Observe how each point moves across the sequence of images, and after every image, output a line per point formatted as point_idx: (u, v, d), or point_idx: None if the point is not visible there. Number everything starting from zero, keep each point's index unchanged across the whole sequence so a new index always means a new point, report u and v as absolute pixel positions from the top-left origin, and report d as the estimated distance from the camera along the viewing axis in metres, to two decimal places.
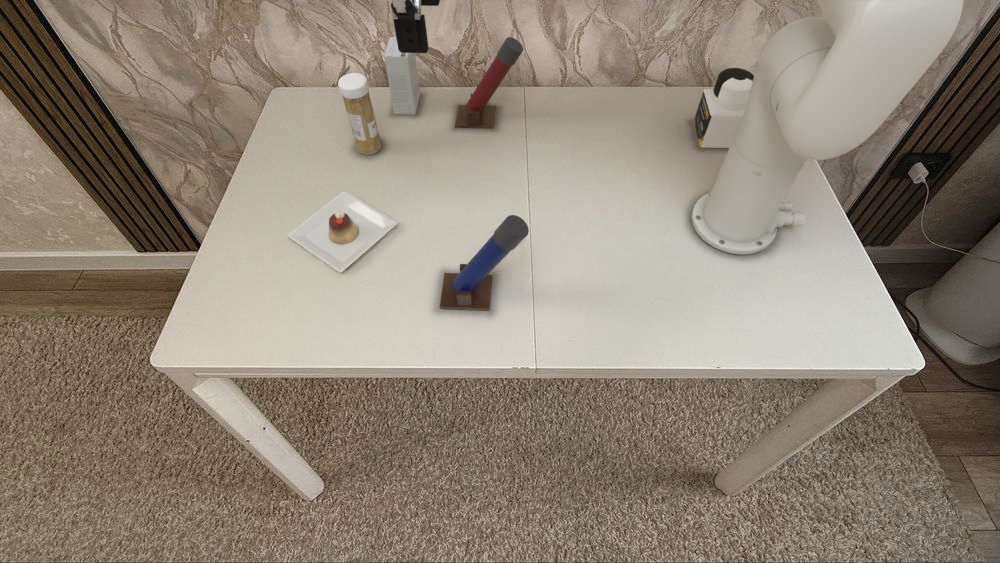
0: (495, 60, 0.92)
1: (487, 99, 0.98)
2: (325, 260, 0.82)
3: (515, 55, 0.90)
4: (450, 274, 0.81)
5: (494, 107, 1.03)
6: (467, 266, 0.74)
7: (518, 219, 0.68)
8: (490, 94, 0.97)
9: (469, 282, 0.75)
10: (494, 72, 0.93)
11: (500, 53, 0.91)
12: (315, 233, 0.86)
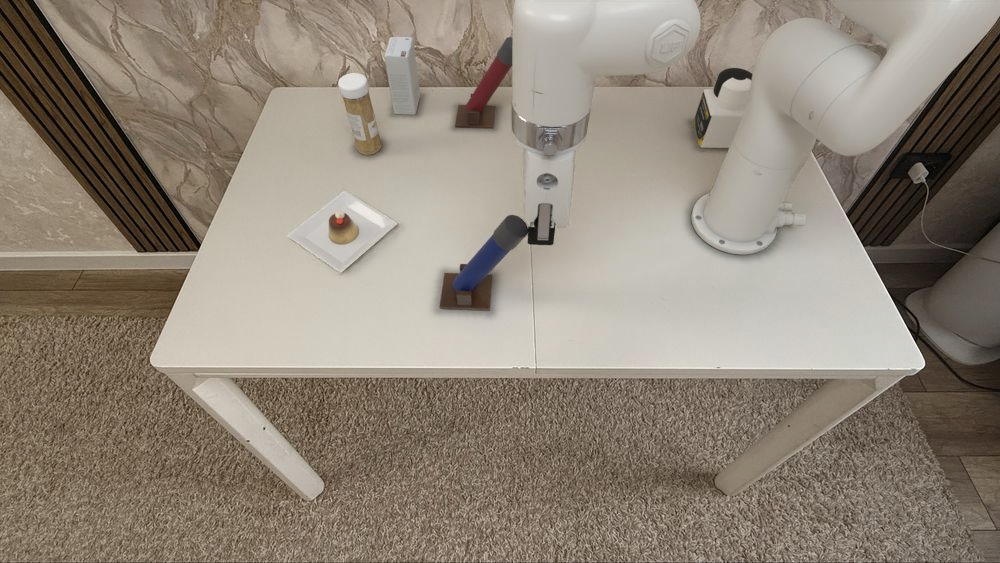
0: (495, 60, 0.92)
1: (487, 99, 0.98)
2: (325, 260, 0.82)
3: None
4: (450, 274, 0.81)
5: (494, 107, 1.03)
6: (467, 266, 0.74)
7: (518, 219, 0.68)
8: (490, 94, 0.97)
9: (469, 282, 0.75)
10: (494, 72, 0.93)
11: (500, 53, 0.91)
12: (315, 233, 0.86)
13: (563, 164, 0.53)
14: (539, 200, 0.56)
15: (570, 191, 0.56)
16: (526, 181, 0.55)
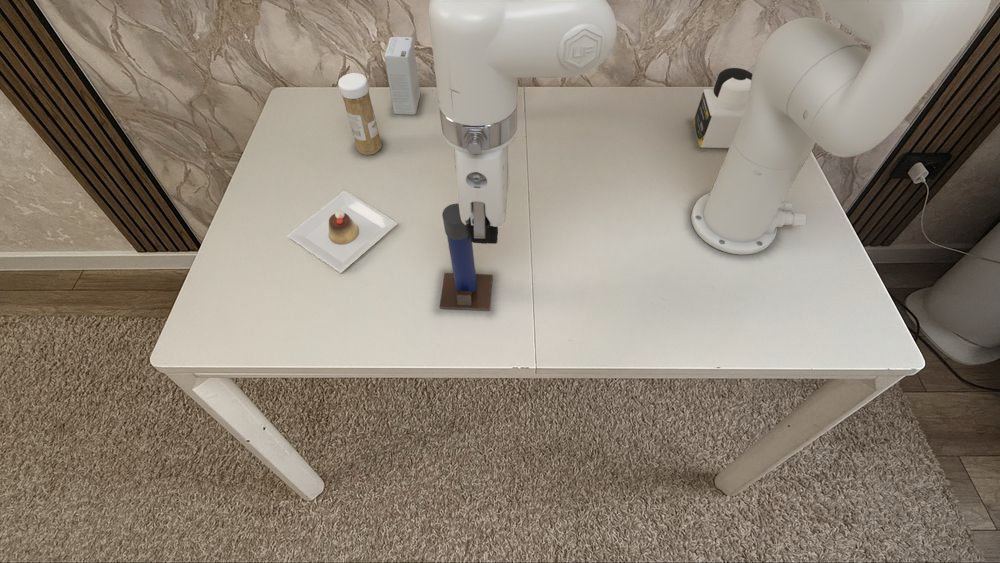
0: None
1: None
2: (325, 260, 0.82)
3: None
4: (450, 274, 0.81)
5: None
6: (452, 267, 0.75)
7: (458, 206, 0.67)
8: None
9: (460, 282, 0.75)
10: None
11: None
12: (315, 233, 0.86)
13: (490, 163, 0.53)
14: (471, 199, 0.57)
15: (501, 190, 0.56)
16: (457, 180, 0.56)
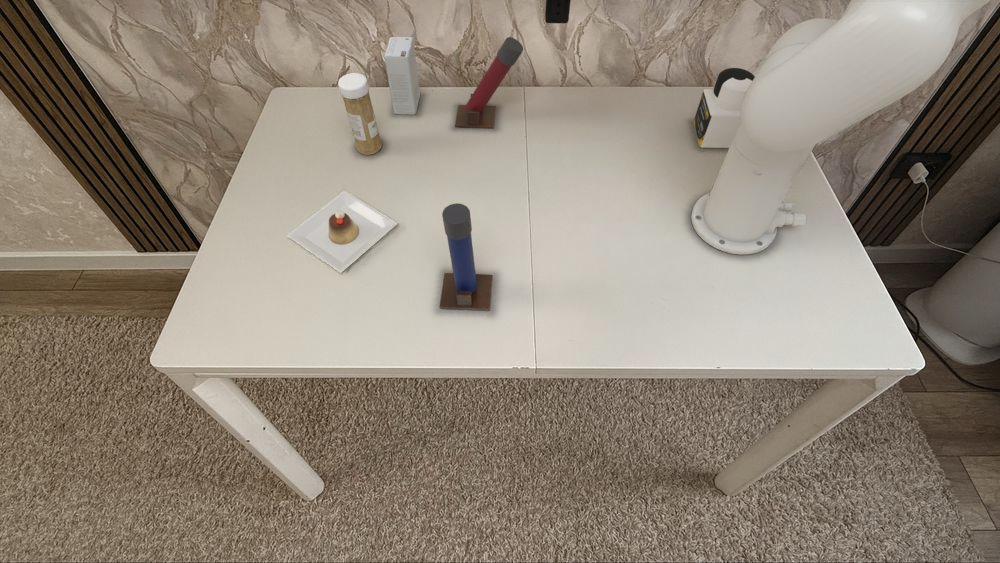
0: (495, 60, 0.92)
1: (487, 99, 0.98)
2: (325, 260, 0.82)
3: (515, 55, 0.90)
4: (450, 274, 0.81)
5: (494, 107, 1.03)
6: (452, 267, 0.75)
7: (458, 206, 0.67)
8: (490, 94, 0.97)
9: (460, 282, 0.75)
10: (494, 72, 0.93)
11: (500, 53, 0.91)
12: (315, 233, 0.86)
13: None
14: None
15: None
16: None
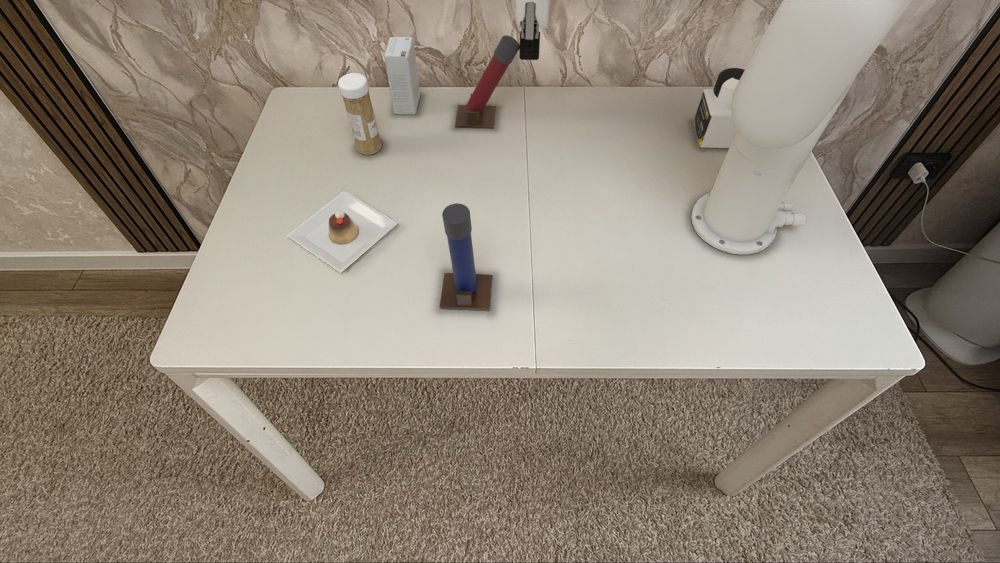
0: (492, 59, 0.92)
1: (486, 98, 0.97)
2: (325, 260, 0.82)
3: (511, 53, 0.90)
4: (450, 274, 0.81)
5: (494, 107, 1.03)
6: (452, 267, 0.75)
7: (458, 206, 0.67)
8: (489, 93, 0.96)
9: (460, 282, 0.75)
10: (491, 72, 0.93)
11: (497, 52, 0.90)
12: (315, 233, 0.86)
13: None
14: None
15: None
16: None
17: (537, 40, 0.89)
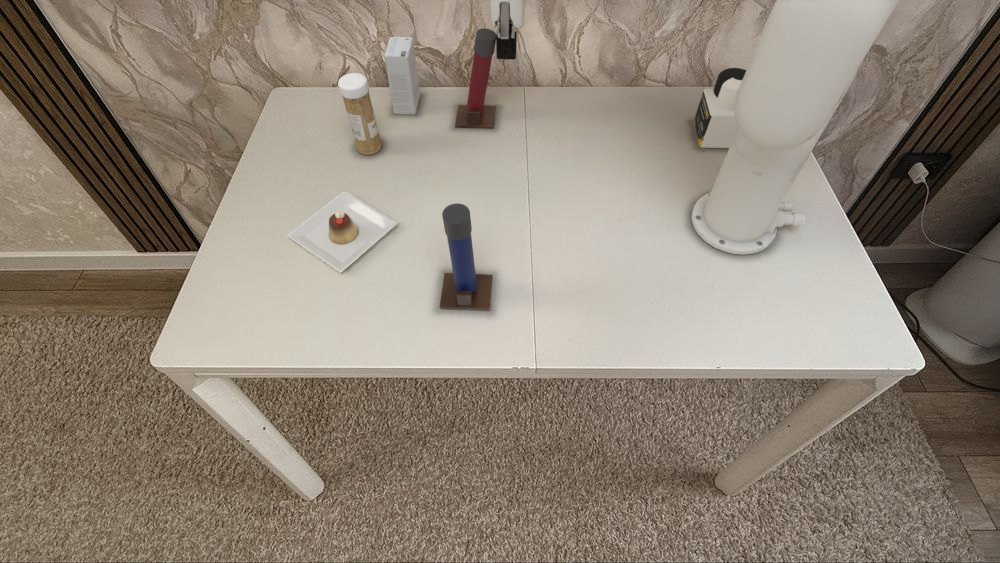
0: (474, 55, 0.92)
1: (481, 96, 0.97)
2: (325, 260, 0.82)
3: (489, 44, 0.89)
4: (450, 274, 0.81)
5: (494, 107, 1.03)
6: (452, 267, 0.75)
7: (458, 206, 0.67)
8: (482, 90, 0.96)
9: (460, 282, 0.75)
10: (476, 68, 0.93)
11: (475, 47, 0.90)
12: (315, 233, 0.86)
13: None
14: None
15: None
16: None
17: (513, 40, 0.89)
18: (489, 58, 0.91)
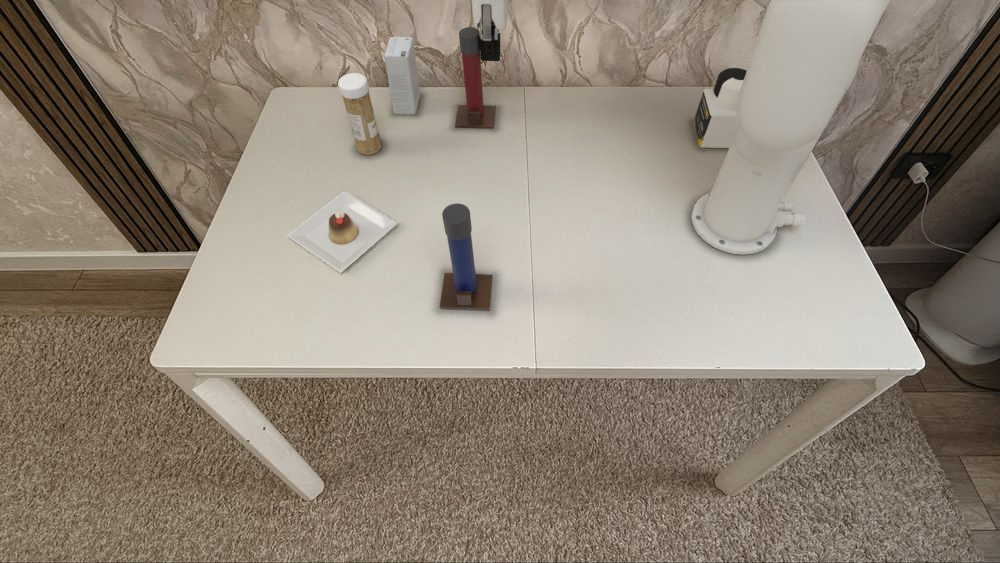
0: (462, 56, 0.92)
1: (478, 94, 0.97)
2: (325, 260, 0.82)
3: (472, 42, 0.89)
4: (450, 274, 0.81)
5: (494, 107, 1.03)
6: (452, 267, 0.75)
7: (458, 206, 0.67)
8: (477, 89, 0.96)
9: (460, 282, 0.75)
10: (466, 68, 0.93)
11: (461, 47, 0.90)
12: (315, 233, 0.86)
13: None
14: (481, 1, 0.80)
15: None
16: None
17: (497, 41, 0.89)
18: (476, 56, 0.91)
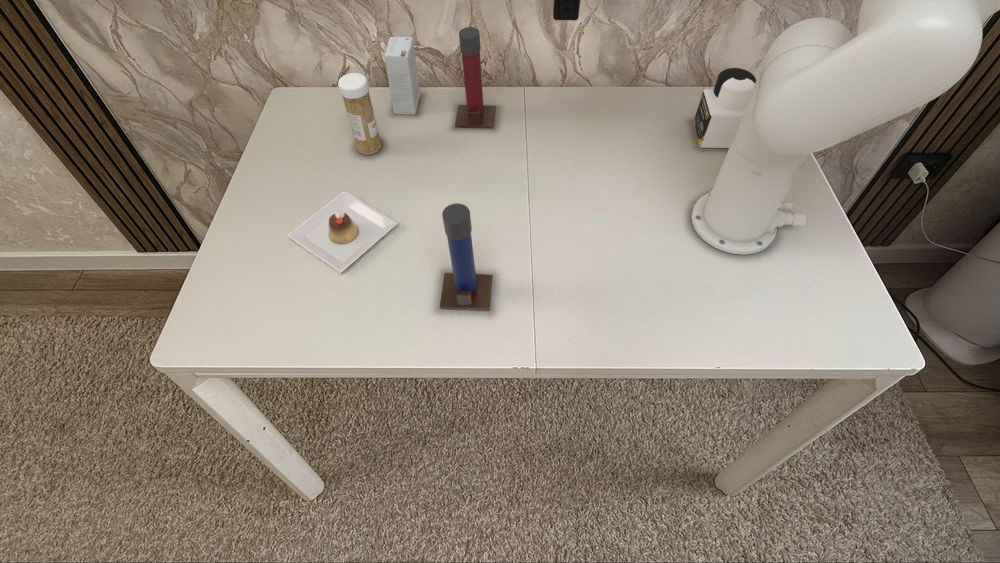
0: (462, 56, 0.92)
1: (478, 94, 0.97)
2: (325, 260, 0.82)
3: (472, 42, 0.89)
4: (450, 274, 0.81)
5: (494, 107, 1.03)
6: (452, 267, 0.75)
7: (458, 206, 0.67)
8: (477, 89, 0.96)
9: (460, 282, 0.75)
10: (466, 68, 0.93)
11: (461, 47, 0.90)
12: (315, 233, 0.86)
13: None
14: None
15: None
16: None
17: None
18: (476, 56, 0.91)
